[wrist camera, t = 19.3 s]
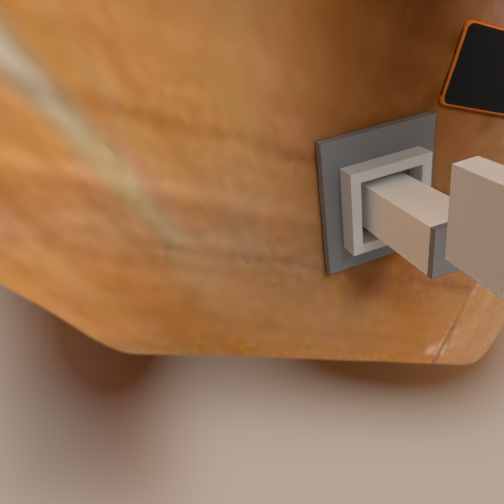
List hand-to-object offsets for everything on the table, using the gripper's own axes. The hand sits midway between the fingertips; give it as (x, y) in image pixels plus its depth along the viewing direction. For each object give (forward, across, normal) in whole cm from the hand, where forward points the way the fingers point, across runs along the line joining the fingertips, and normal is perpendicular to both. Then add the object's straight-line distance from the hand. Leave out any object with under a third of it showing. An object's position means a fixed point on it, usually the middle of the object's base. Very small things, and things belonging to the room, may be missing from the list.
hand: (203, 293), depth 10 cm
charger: (+28, +22, -15) cm, 38 cm away
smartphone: (+29, +38, -7) cm, 48 cm away
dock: (+29, +22, -15) cm, 39 cm away
